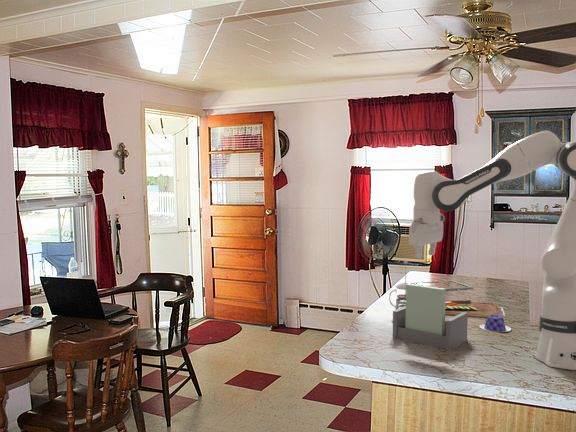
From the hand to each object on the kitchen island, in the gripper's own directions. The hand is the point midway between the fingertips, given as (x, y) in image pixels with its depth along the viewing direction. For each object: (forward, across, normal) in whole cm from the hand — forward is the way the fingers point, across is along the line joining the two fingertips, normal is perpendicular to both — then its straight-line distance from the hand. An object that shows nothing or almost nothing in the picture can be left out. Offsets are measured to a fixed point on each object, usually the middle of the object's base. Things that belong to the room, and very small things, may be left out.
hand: (425, 256), depth 195 cm
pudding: (+33, +38, -12) cm, 52 cm away
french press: (+32, +29, +24) cm, 50 cm away
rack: (+32, +4, 0) cm, 33 cm away
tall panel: (+31, 0, 0) cm, 31 cm away
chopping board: (+33, +59, +15) cm, 70 cm away
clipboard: (+33, +104, +39) cm, 116 cm away
